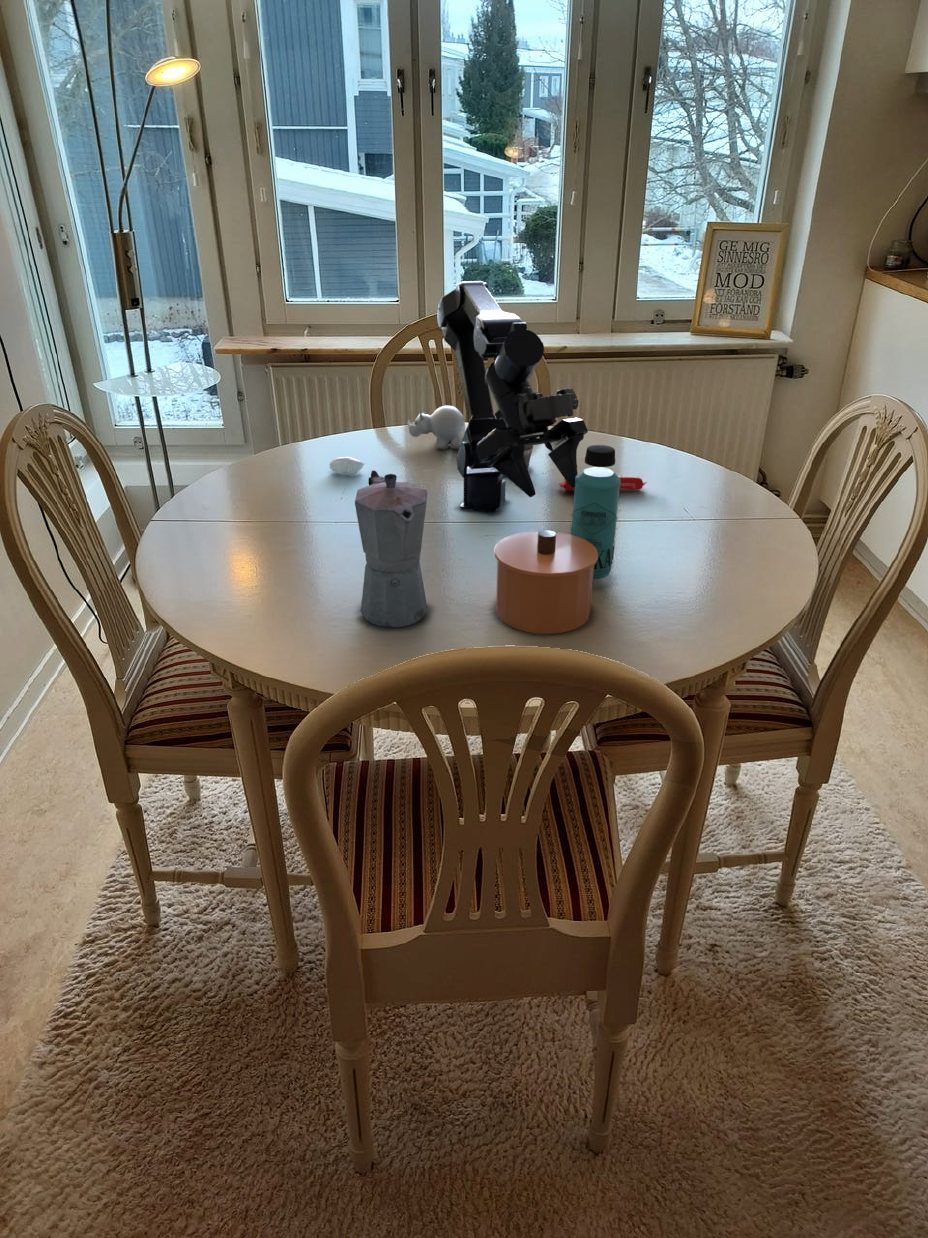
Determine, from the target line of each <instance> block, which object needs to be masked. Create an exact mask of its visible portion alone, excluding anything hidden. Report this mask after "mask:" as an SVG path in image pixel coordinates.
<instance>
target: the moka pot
mask: <svg viewBox="0 0 928 1238" xmlns="http://www.w3.org/2000/svg"><path fill="white" fill-rule="evenodd" d="M397 478H398V476H397V475H396V473H395V474H394V473H387V474H385V475H384V476H380V475H379V473H378V472H377V471H376V470H375V469H374V470H371V473H370V477H368V480H367V483H368V485H367V486H364V487H361V488H358V489H357V491H356V495H355V500H354V507H355V512H356V513H355V514H356V519H357V523H358V529H359V536H360V542H361V544H362V551H363V553H364V555H365V566H364V575H363V584H362V585H363V586H362V593H361V603H360V606H361V607H360V612H361V615H362V617H364V619H365V620H366V621H367V622H369V623H371V624H373V625H376V626H378V627H383V628H402V627H408V626H411V625H414V624H416V623H417V622H419V621H421V620H422V619H423V618H424V617H425V616H426V613H427V610H428V603H427V597H426V591H425V585H424V579H423V573H422V567H421V562H420V561H421V552H422V545H423V536H424V527H425V519H426V510H427V503H428V501H427V500H428V491H427V489H425V488H423V487H421V486H418V485H416V484H413V483H410V482H408V481H397Z"/></svg>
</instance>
